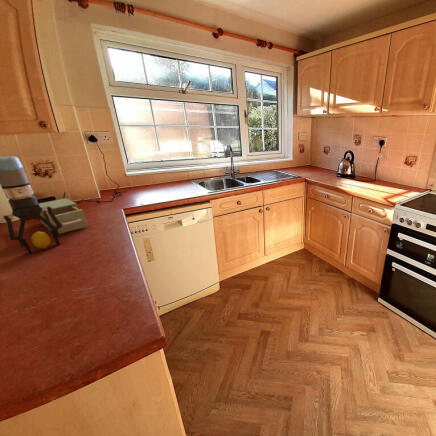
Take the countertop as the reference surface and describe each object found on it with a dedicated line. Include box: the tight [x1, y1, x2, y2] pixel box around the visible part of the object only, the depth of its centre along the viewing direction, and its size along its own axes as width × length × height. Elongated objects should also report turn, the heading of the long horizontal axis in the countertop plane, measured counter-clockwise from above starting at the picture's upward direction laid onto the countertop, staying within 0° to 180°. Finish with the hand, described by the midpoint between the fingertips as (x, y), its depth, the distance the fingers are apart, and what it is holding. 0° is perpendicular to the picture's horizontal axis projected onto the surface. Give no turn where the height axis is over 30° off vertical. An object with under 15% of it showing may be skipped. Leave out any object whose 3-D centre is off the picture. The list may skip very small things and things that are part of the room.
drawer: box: [44, 206, 89, 235], centre depth 121 cm, size 22×12×9 cm, turn 54°
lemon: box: [30, 230, 51, 249], centre depth 102 cm, size 6×6×8 cm
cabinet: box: [38, 197, 79, 232], centre depth 129 cm, size 18×14×11 cm
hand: (44, 248), depth 104 cm, fingers open, 8 cm apart
